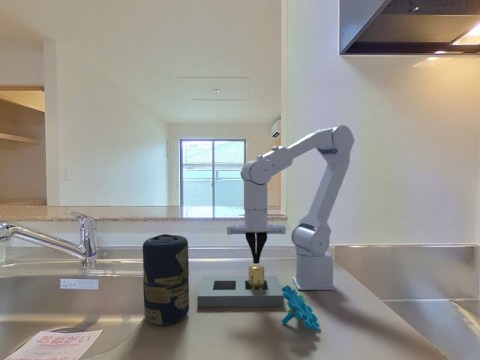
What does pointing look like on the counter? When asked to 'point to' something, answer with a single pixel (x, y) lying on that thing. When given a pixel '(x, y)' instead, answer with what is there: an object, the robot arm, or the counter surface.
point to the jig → (238, 292)
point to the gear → (299, 308)
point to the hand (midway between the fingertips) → (256, 262)
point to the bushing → (256, 277)
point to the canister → (165, 278)
